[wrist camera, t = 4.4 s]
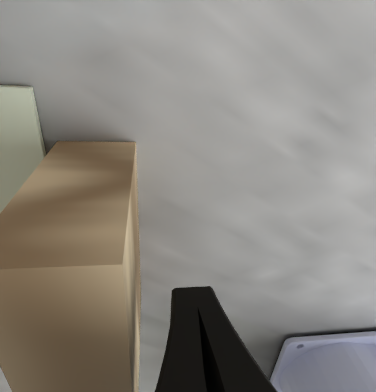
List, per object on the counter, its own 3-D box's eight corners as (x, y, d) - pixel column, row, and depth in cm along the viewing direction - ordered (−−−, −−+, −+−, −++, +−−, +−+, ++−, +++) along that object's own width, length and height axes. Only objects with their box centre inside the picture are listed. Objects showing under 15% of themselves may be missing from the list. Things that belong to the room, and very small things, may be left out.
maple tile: (136, 141, 12) (122, 264, 6) (141, 295, 16) (136, 453, 10) (57, 140, 11) (-45, 270, 5) (85, 298, 16) (47, 464, 10)
